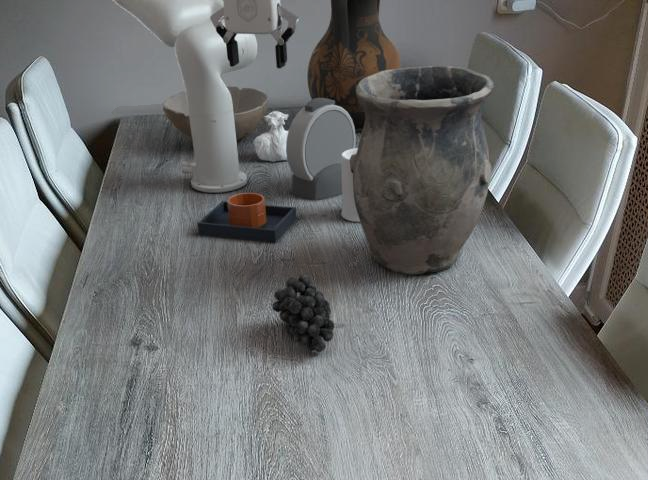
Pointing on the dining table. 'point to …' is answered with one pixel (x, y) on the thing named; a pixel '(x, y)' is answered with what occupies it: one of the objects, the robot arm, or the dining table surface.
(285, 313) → the fruit
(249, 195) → the small bowl
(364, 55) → the vase
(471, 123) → the clay pot
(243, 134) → the bowl
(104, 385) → the dining table surface
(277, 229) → the tray
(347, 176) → the mug
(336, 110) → the alarm clock
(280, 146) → the bust
